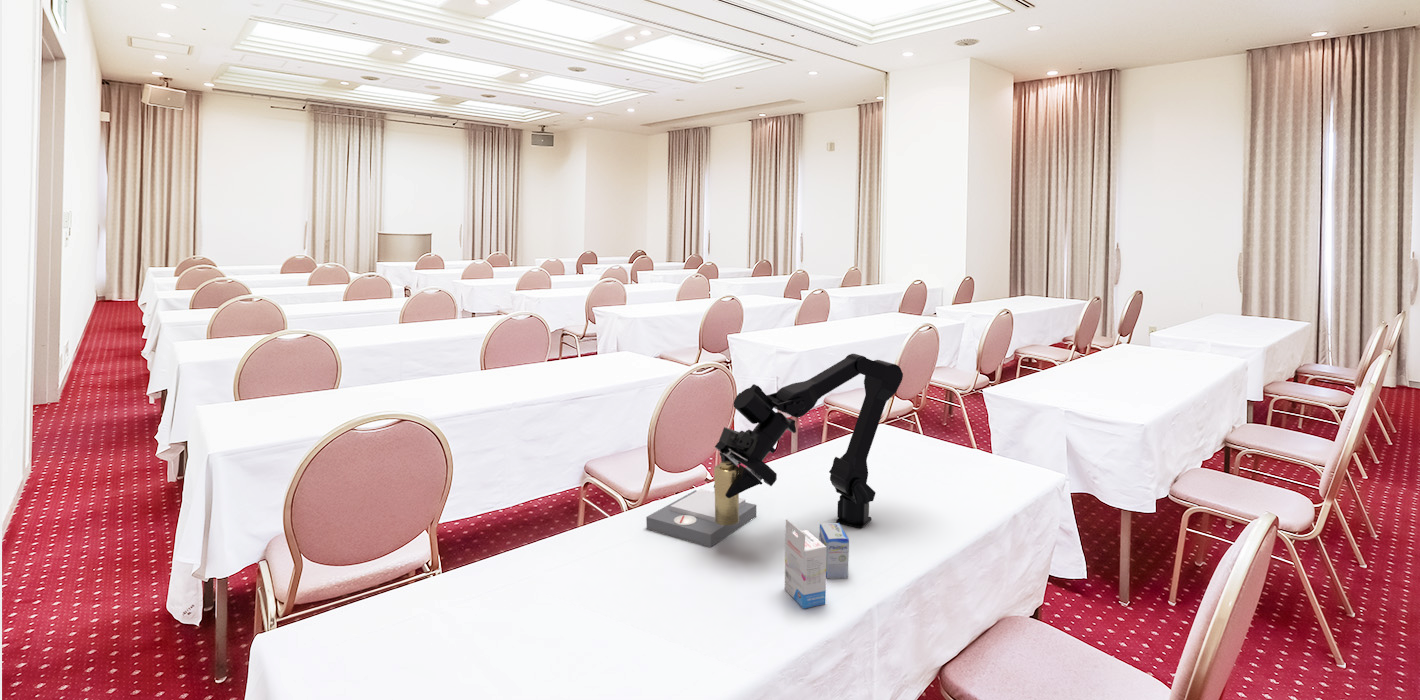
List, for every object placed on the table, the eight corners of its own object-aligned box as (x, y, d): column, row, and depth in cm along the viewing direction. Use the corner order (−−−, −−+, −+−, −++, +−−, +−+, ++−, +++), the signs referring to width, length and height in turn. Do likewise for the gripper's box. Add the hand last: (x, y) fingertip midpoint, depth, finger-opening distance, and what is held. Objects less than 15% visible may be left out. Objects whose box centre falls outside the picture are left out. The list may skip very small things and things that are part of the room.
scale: (756, 516, 181) (756, 500, 180) (710, 547, 165) (710, 529, 164) (695, 501, 191) (695, 485, 190) (646, 529, 175) (646, 512, 174)
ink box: (827, 604, 140) (828, 531, 138) (803, 609, 139) (804, 535, 136) (806, 584, 148) (807, 514, 146) (783, 588, 147) (784, 517, 144)
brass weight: (743, 519, 163) (743, 462, 160) (728, 527, 159) (727, 469, 156) (725, 513, 166) (724, 457, 164) (710, 521, 162) (709, 464, 160)
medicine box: (818, 561, 158) (818, 522, 156) (838, 560, 158) (839, 522, 157) (826, 579, 150) (827, 539, 148) (848, 578, 150) (849, 538, 149)
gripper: (722, 404, 168) (678, 459, 165) (763, 425, 152) (716, 486, 149) (752, 433, 173) (711, 486, 170) (796, 456, 156) (751, 515, 154)
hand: (720, 492), depth 161 cm, fingers closed on brass weight, 5 cm apart
